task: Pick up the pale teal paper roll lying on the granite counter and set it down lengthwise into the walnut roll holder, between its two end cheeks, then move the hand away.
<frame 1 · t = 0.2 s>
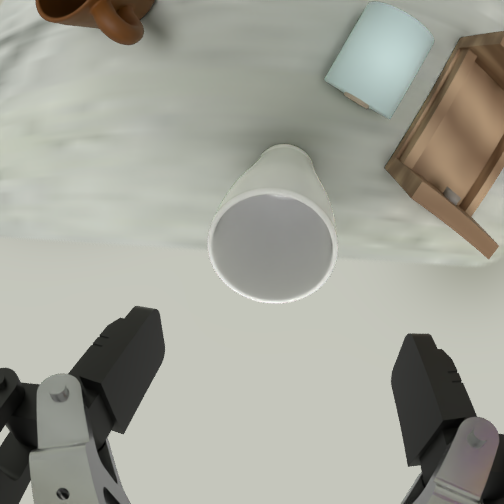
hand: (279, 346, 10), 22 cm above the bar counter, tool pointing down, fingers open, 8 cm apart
roll holder: (463, 130, 23), on the bar counter
mug: (137, 10, 22), on the bar counter
paper roll: (371, 61, 22), on the bar counter
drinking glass: (285, 169, 29), on the bar counter
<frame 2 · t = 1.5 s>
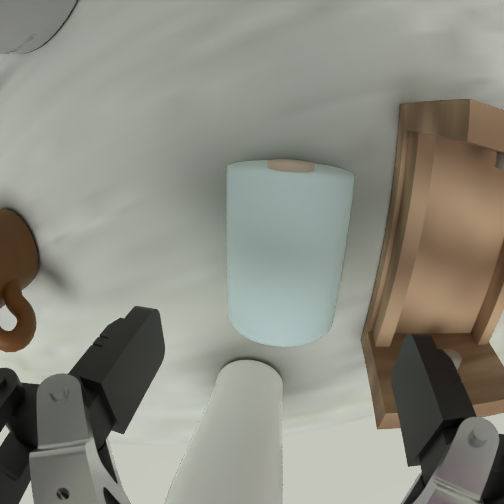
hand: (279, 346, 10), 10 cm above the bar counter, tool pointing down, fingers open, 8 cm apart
roll holder: (452, 243, 17), on the bar counter
mug: (30, 256, 23), on the bar counter
paper roll: (287, 227, 19), on the bar counter
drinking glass: (251, 377, 24), on the bar counter
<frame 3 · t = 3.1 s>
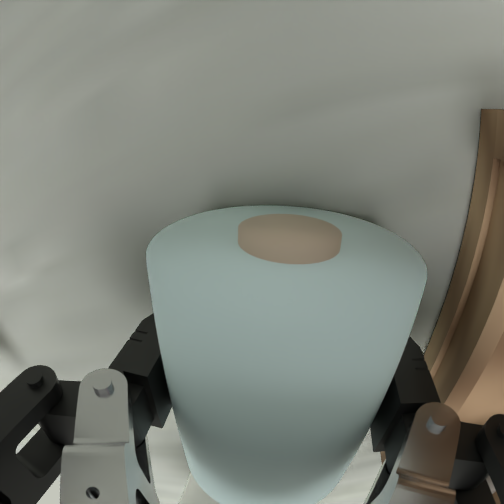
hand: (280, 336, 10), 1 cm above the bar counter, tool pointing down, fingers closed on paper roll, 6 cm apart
paper roll: (282, 316, 11), on the bar counter, touching gripper
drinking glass: (234, 469, 17), on the bar counter
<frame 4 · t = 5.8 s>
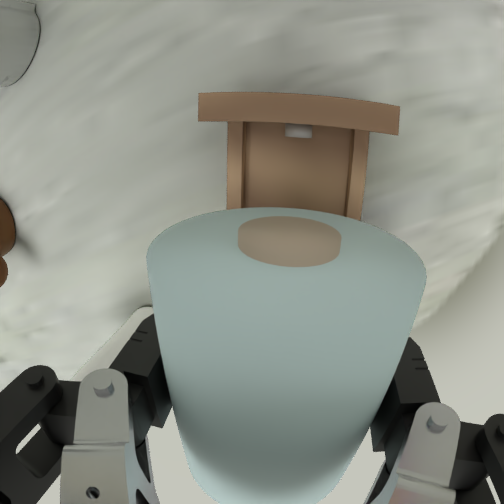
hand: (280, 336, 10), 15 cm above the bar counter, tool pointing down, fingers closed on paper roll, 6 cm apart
roll holder: (294, 208, 24), on the bar counter
mug: (11, 231, 30), on the bar counter
paper roll: (282, 317, 11), point 14 cm above the bar counter, touching gripper
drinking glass: (156, 324, 31), on the bar counter
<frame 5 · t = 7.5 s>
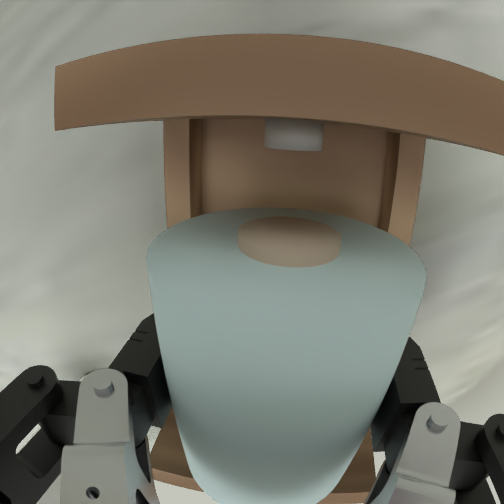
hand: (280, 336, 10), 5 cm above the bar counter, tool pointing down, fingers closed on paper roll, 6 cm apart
roll holder: (286, 264, 15), on the bar counter
paper roll: (282, 317, 11), point 4 cm above the bar counter, touching gripper
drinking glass: (110, 393, 22), on the bar counter
when the fingers open (4 cm above the bar counter, at t = 8.8 s): paper roll drops 1 cm, resting on roll holder.
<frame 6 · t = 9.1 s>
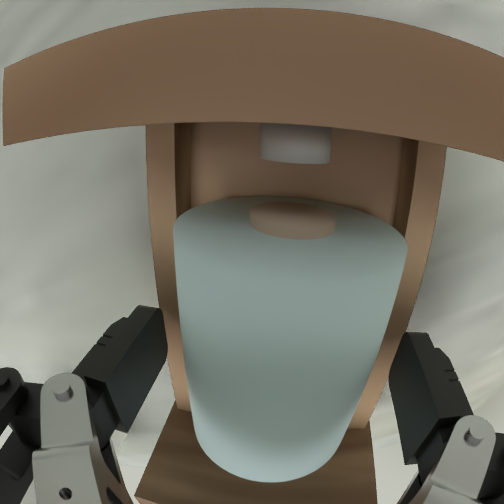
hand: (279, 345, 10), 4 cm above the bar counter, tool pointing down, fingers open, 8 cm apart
roll holder: (286, 284, 13), on the bar counter
paper roll: (283, 296, 12), point 1 cm above the bar counter, touching roll holder
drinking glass: (102, 408, 20), on the bar counter
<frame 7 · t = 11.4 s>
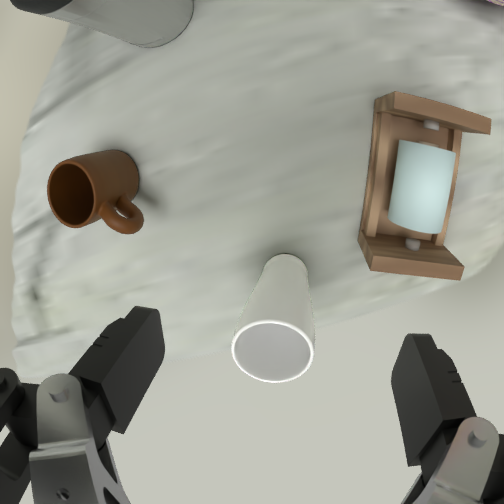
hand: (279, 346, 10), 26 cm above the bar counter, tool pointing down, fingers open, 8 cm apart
roll holder: (410, 178, 31), on the bar counter
mug: (129, 186, 37), on the bar counter
paper roll: (412, 180, 30), point 1 cm above the bar counter, touching roll holder
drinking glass: (285, 272, 38), on the bar counter
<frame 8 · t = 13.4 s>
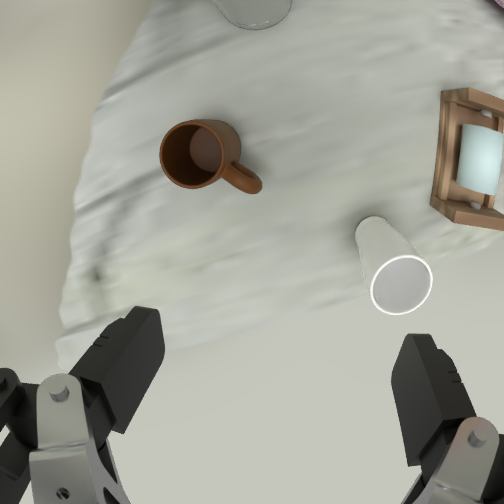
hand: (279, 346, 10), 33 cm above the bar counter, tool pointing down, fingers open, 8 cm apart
roll holder: (466, 155, 34), on the bar counter
mug: (228, 155, 40), on the bar counter
paper roll: (469, 155, 33), point 1 cm above the bar counter, touching roll holder
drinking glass: (372, 233, 41), on the bar counter
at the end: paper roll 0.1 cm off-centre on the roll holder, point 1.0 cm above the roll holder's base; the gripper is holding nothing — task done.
